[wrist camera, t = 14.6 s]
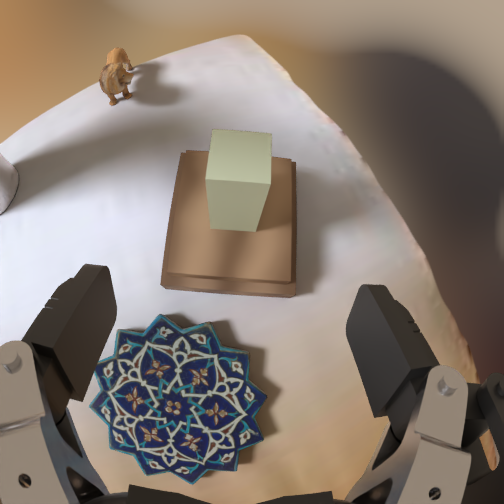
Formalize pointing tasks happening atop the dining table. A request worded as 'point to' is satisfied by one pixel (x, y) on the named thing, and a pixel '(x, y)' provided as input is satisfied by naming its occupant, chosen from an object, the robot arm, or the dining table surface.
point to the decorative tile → (178, 399)
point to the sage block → (238, 178)
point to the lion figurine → (116, 75)
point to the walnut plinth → (231, 238)
